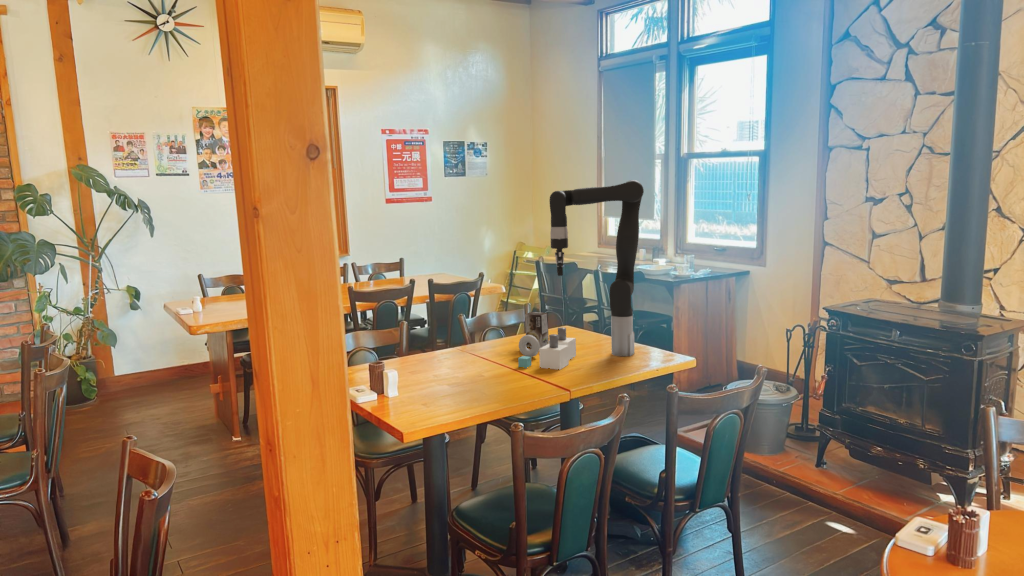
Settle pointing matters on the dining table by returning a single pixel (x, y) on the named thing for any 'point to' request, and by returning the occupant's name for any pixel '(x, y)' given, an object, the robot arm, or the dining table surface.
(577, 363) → the dining table surface
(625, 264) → the robot arm
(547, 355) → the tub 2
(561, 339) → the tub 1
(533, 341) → the donut
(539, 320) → the grey mechanical block
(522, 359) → the cube
